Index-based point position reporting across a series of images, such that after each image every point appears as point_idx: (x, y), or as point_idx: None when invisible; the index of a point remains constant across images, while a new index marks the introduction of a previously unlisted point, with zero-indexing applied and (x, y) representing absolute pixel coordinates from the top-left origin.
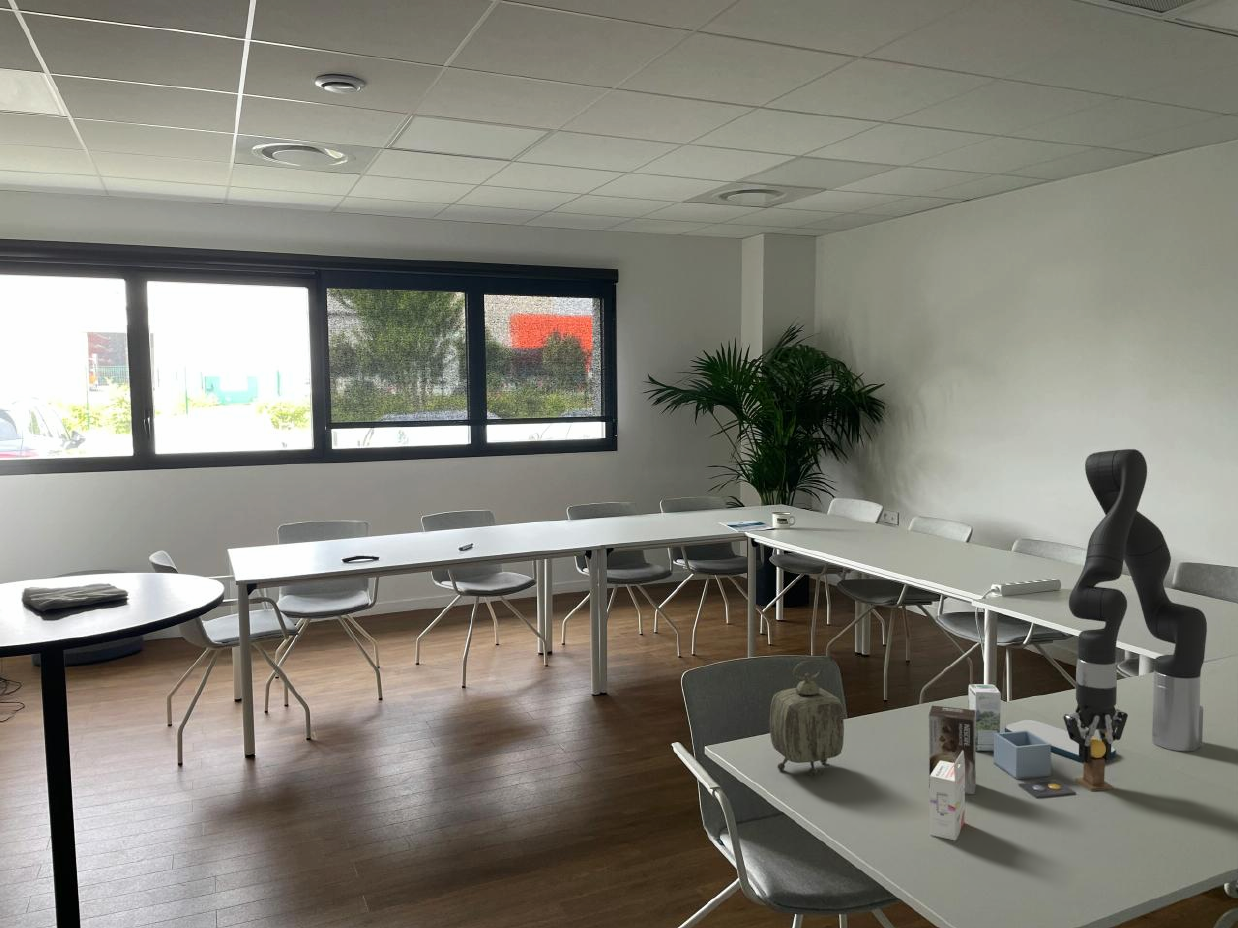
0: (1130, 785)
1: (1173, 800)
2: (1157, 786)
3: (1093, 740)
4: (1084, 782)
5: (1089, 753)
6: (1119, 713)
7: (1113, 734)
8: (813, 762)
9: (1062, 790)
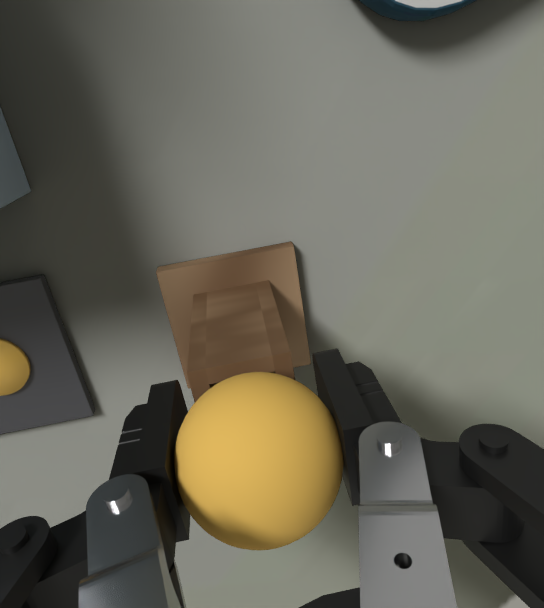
0: (418, 320)
1: None
2: (533, 331)
3: (234, 538)
4: (185, 324)
5: None
6: None
7: (470, 533)
8: None
9: (29, 401)
